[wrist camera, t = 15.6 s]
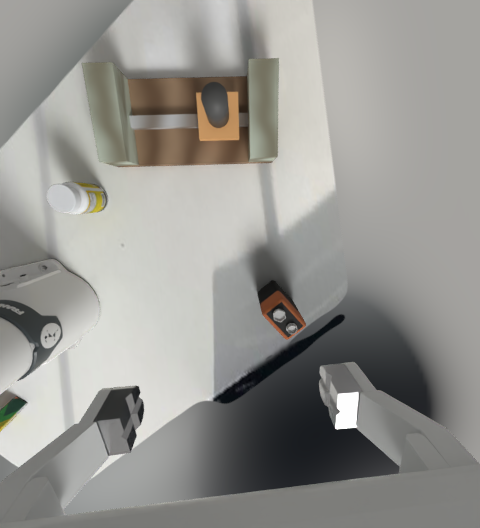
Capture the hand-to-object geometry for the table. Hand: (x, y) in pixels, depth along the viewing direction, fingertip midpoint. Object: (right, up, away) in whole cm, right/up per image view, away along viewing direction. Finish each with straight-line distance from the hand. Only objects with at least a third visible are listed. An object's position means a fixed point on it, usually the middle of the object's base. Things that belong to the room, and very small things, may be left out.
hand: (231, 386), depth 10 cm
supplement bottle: (-25, +17, +31) cm, 43 cm away
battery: (+7, -1, +36) cm, 37 cm away
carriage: (-3, +28, +26) cm, 38 cm away
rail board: (-7, +28, +28) cm, 40 cm away
